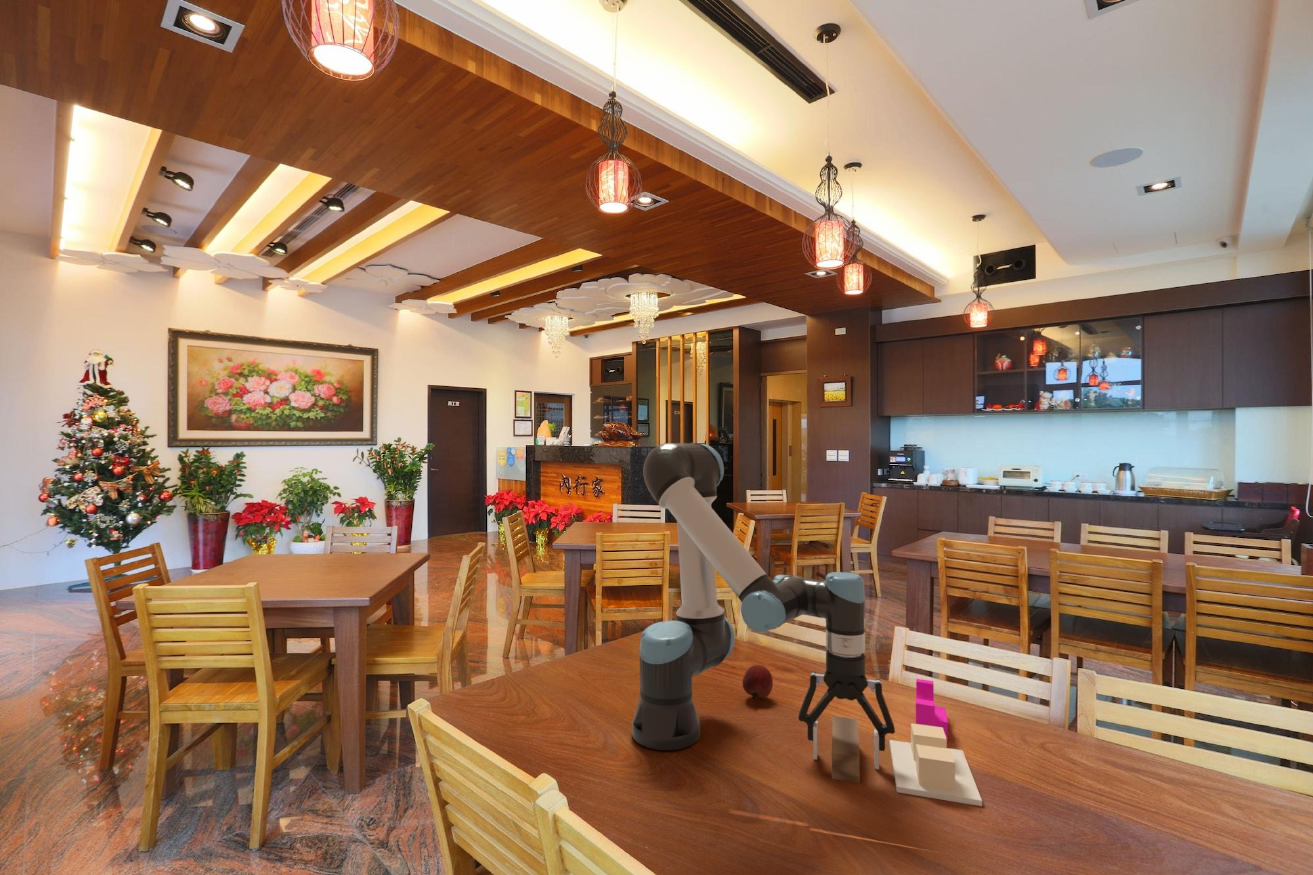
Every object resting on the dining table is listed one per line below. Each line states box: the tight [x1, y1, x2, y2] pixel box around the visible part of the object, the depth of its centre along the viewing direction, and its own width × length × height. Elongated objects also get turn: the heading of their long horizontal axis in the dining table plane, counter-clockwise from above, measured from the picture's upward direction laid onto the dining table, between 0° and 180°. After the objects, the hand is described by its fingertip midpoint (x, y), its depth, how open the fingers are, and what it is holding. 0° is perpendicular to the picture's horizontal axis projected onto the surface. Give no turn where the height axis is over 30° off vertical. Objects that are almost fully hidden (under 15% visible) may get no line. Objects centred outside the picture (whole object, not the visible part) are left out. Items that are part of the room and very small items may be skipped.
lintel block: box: [831, 715, 860, 784], centre depth 119 cm, size 5×14×6 cm, turn 163°
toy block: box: [915, 678, 949, 743], centre depth 135 cm, size 15×6×8 cm, turn 156°
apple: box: [742, 664, 774, 699], centre depth 149 cm, size 7×8×8 cm
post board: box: [889, 723, 983, 807], centre depth 115 cm, size 14×18×6 cm
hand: (845, 760), depth 119 cm, fingers open, 11 cm apart
